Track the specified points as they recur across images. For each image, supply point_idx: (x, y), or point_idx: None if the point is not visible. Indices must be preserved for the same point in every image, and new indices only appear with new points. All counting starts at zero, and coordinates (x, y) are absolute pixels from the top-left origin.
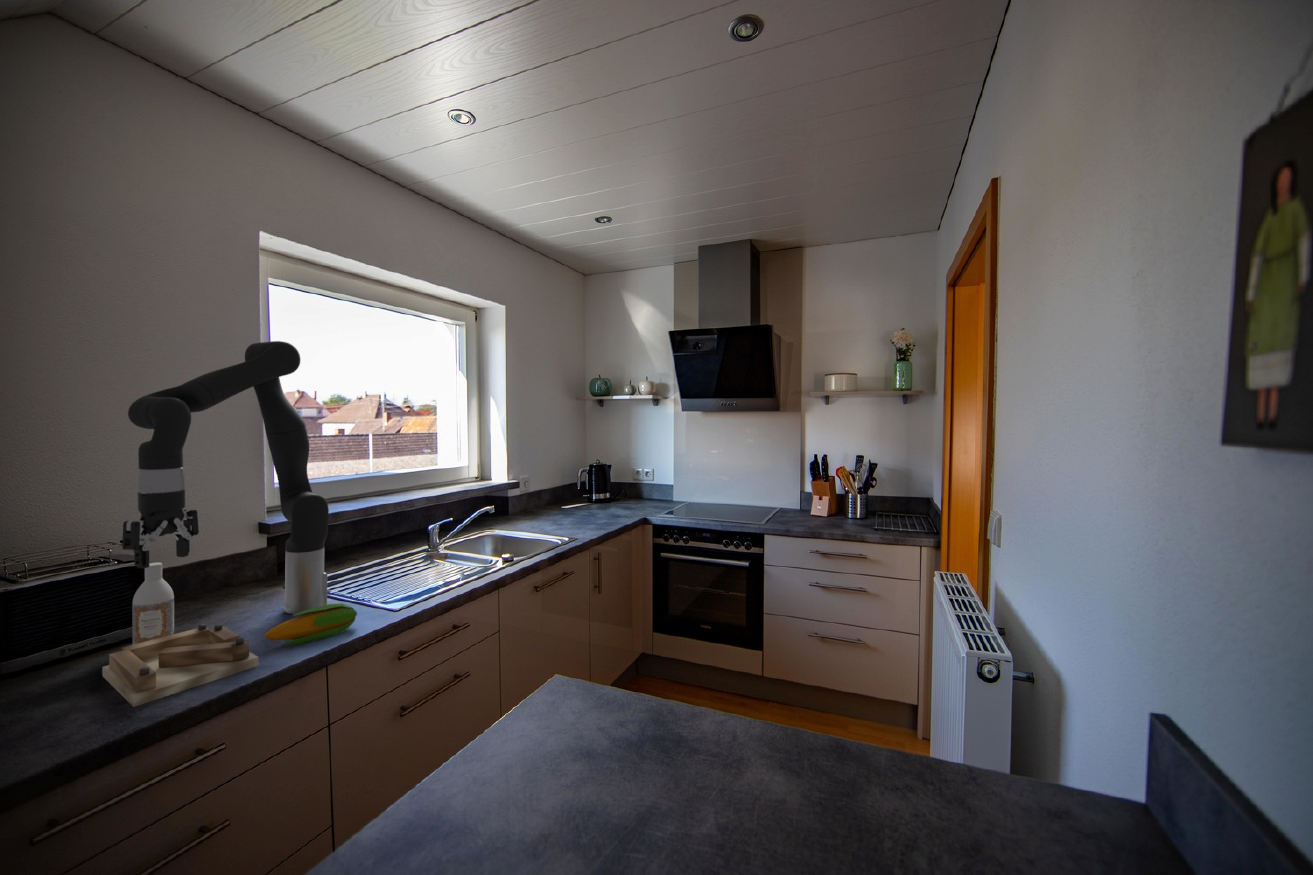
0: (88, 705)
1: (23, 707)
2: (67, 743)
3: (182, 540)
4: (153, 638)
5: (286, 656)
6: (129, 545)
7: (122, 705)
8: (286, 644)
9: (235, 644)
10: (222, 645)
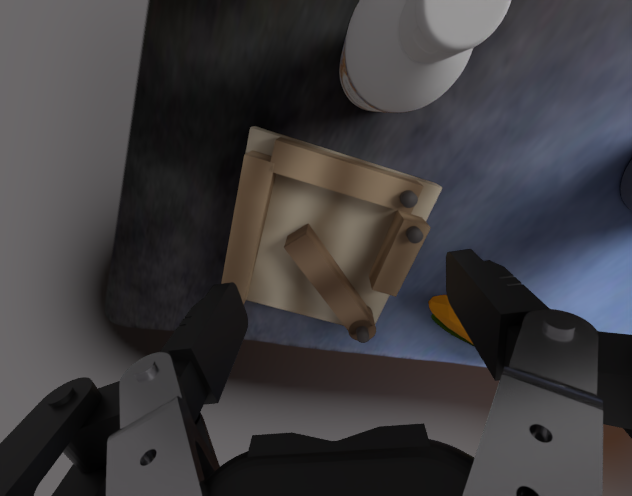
0: (197, 225)
1: (143, 136)
2: (151, 299)
3: (507, 355)
4: (358, 105)
5: (407, 331)
6: (65, 452)
7: (220, 267)
8: (435, 317)
9: (358, 326)
10: (348, 312)
